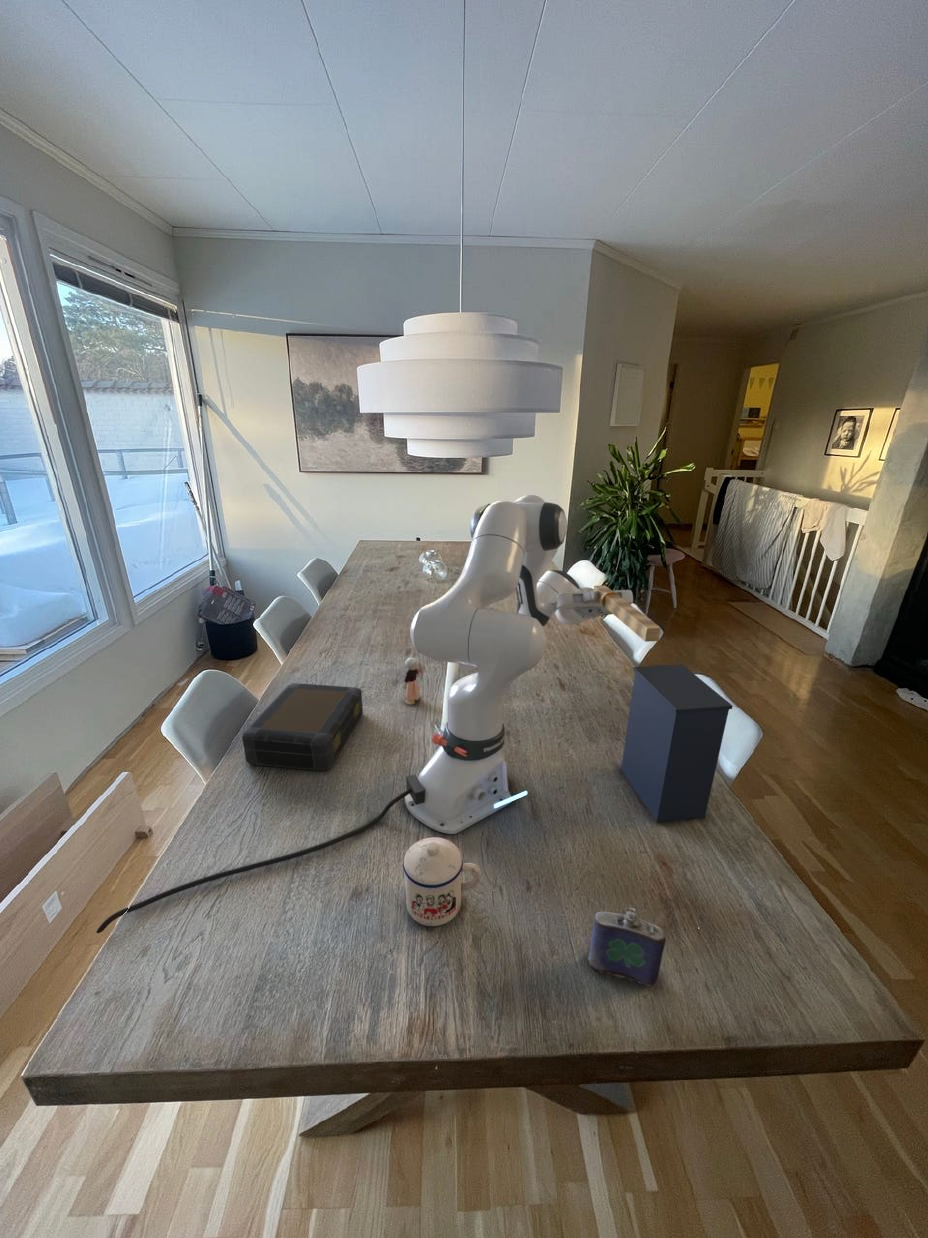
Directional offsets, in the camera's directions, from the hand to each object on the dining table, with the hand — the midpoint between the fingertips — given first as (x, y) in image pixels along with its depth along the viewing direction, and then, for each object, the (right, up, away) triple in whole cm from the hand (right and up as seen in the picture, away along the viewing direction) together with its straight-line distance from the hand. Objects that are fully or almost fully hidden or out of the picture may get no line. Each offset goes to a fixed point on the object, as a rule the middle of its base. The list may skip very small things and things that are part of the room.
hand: (604, 593), depth 129 cm
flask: (-13, -55, -57) cm, 81 cm away
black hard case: (-73, -35, -5) cm, 81 cm away
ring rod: (+1, -6, -9) cm, 11 cm away
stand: (+5, -42, -23) cm, 48 cm away
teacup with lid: (-39, -51, -48) cm, 80 cm away
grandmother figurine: (-49, -29, +11) cm, 58 cm away
